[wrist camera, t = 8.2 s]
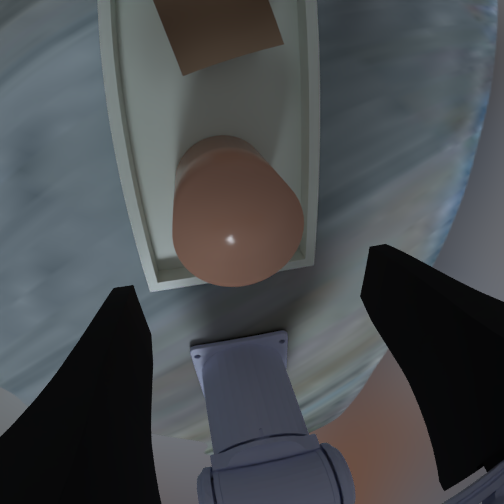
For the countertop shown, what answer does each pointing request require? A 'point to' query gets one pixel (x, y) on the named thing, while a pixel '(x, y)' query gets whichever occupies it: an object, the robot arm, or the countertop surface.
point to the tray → (207, 119)
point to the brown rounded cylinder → (233, 214)
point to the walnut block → (217, 30)
